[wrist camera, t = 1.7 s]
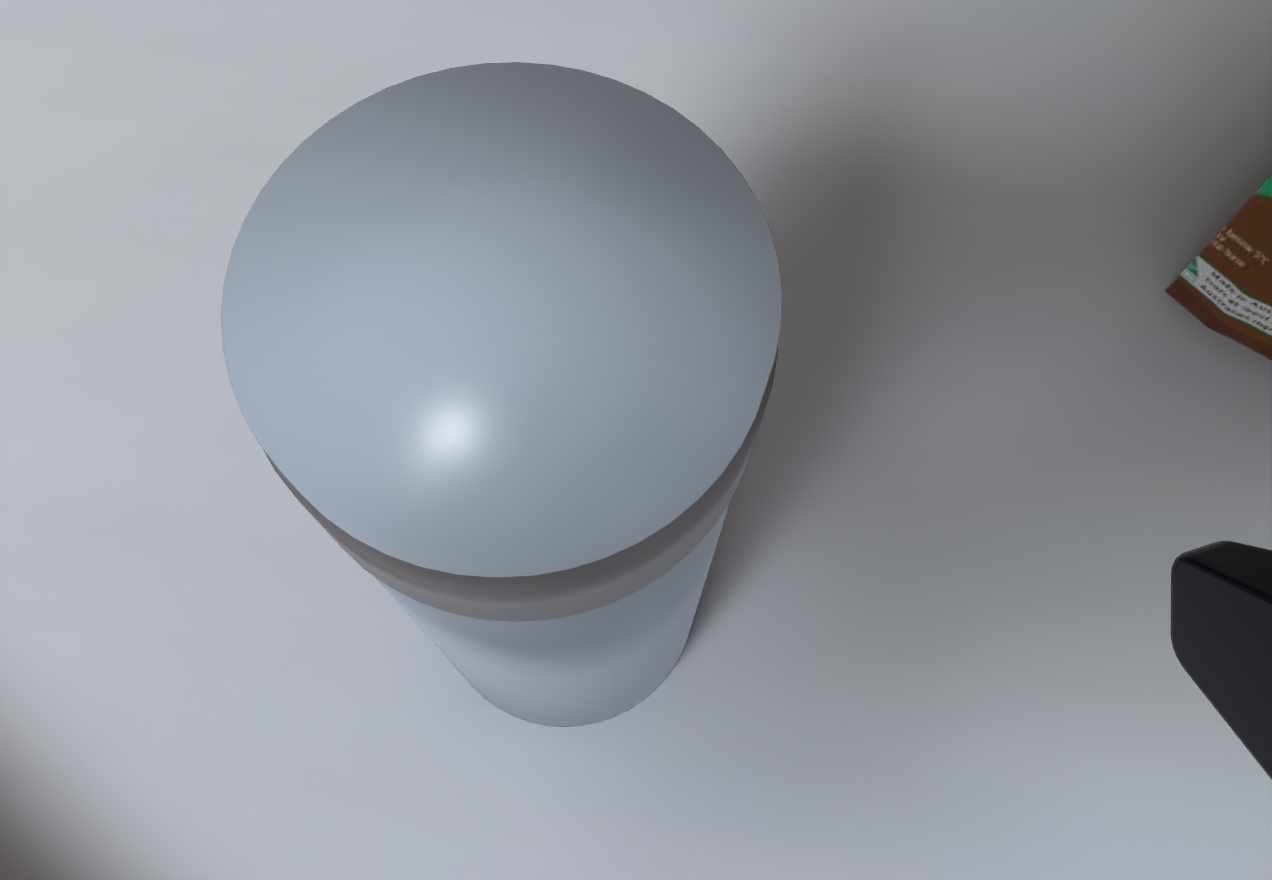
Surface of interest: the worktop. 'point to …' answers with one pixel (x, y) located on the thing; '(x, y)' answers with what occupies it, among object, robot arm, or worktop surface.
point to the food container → (1235, 277)
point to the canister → (513, 367)
